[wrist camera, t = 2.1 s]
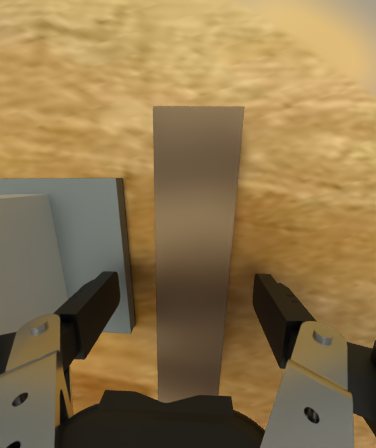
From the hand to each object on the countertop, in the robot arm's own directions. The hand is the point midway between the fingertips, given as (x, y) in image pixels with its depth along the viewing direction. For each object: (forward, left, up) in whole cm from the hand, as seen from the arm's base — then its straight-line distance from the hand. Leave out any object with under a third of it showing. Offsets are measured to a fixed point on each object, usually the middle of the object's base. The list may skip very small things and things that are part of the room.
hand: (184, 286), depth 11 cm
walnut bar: (0, 0, -4) cm, 4 cm away
